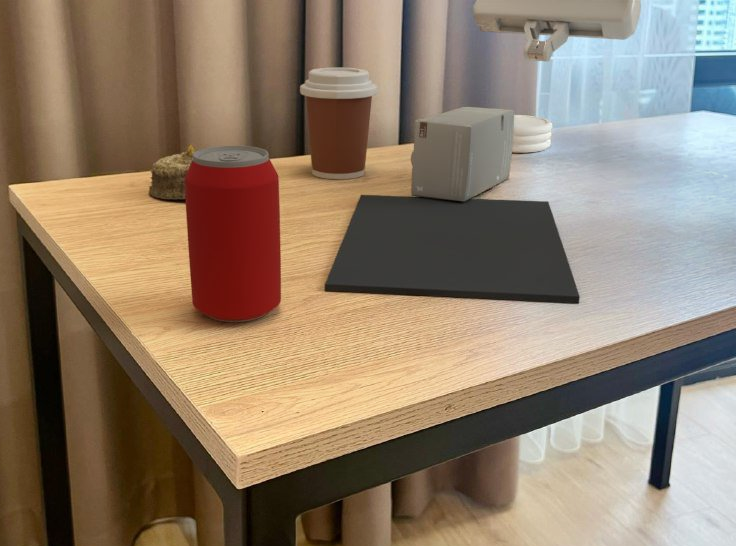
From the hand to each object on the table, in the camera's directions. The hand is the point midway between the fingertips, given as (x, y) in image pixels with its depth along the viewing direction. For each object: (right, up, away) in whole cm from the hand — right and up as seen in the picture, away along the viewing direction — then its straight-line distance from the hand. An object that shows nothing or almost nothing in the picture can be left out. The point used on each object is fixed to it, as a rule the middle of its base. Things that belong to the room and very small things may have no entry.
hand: (535, 57), depth 109 cm
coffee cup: (-24, -14, +1) cm, 28 cm away
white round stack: (0, -8, +15) cm, 17 cm away
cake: (-40, -18, -8) cm, 45 cm away
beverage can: (-32, -31, -40) cm, 60 cm away
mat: (-13, -25, -25) cm, 38 cm away
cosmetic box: (-6, -10, -2) cm, 12 cm away
